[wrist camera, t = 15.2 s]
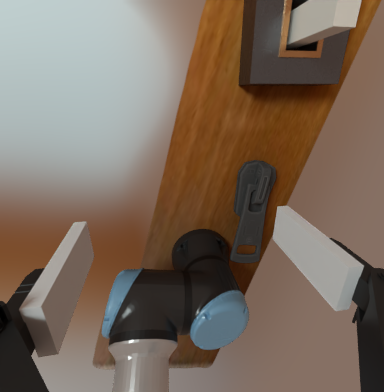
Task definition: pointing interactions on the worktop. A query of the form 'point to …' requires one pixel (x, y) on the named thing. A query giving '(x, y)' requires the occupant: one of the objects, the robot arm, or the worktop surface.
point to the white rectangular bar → (320, 20)
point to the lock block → (276, 49)
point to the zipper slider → (251, 207)
